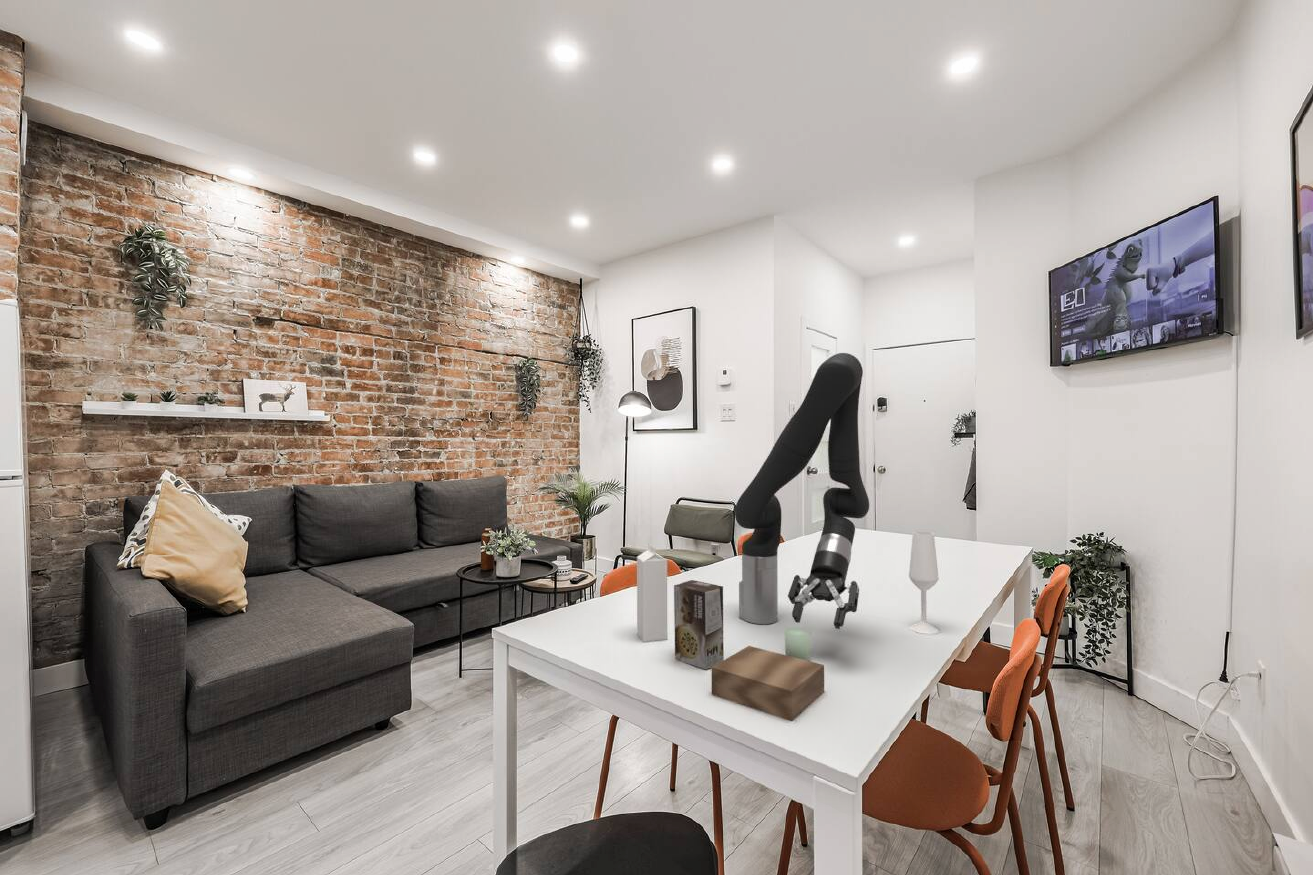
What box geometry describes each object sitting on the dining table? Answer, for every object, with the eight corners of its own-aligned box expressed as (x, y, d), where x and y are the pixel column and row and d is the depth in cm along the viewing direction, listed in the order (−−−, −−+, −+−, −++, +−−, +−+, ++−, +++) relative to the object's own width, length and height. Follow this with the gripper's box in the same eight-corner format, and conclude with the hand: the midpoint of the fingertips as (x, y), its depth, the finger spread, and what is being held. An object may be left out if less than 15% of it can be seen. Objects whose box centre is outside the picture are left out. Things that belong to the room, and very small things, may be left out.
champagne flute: (934, 635, 135) (933, 536, 135) (905, 629, 139) (904, 533, 139) (942, 628, 140) (941, 532, 140) (914, 623, 144) (913, 529, 144)
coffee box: (725, 661, 119) (724, 586, 119) (705, 670, 115) (705, 591, 115) (692, 650, 126) (692, 578, 126) (673, 658, 121) (672, 584, 121)
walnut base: (711, 694, 104) (711, 667, 104) (748, 670, 115) (748, 645, 115) (791, 720, 94) (791, 690, 94) (824, 691, 105) (824, 664, 105)
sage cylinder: (781, 671, 114) (780, 632, 114) (791, 663, 118) (791, 625, 118) (804, 677, 111) (804, 637, 111) (814, 669, 115) (814, 630, 115)
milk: (643, 642, 131) (642, 548, 131) (636, 634, 137) (636, 543, 137) (668, 639, 133) (667, 546, 133) (660, 631, 138) (659, 542, 138)
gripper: (796, 546, 128) (778, 609, 118) (860, 551, 119) (846, 619, 110) (806, 565, 132) (788, 628, 122) (868, 571, 124) (855, 638, 114)
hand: (816, 623), depth 116 cm, fingers open, 8 cm apart
